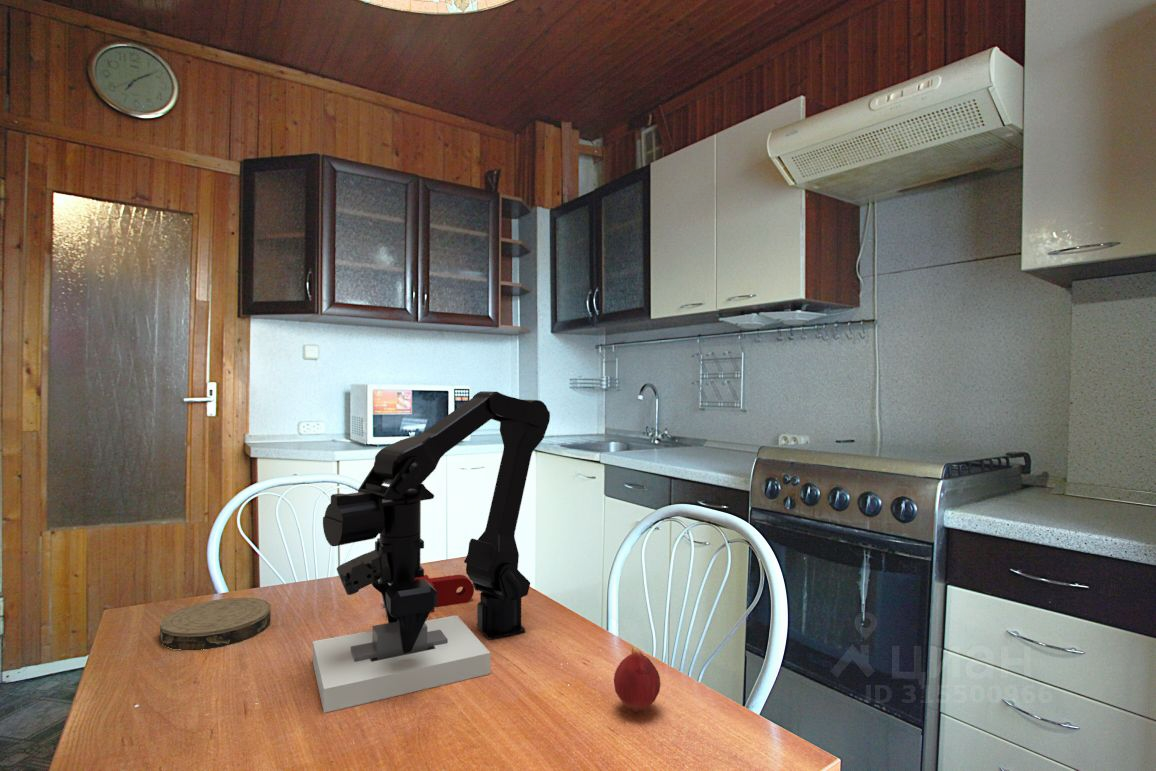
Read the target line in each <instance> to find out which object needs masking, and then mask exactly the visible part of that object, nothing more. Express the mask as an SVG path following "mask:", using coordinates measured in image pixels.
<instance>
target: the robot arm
mask: <svg viewBox="0 0 1156 771" xmlns="http://www.w3.org/2000/svg"><path fill="white" fill-rule="evenodd" d="M550 414H551V412H550V411H549V409H548V407H547V405H546V403H544V402H543V401H542V400H539V399H521V398H518V397H513V396H509V395H506V394H503V393H501V392H498V391H485V390H484V391H478V392H477V393H475V394H474V395H473V396H472V398H471V399H469V400H467V401H466V402H464V403H463V404H462V405H460V406H459V407H458V408H455V410H453V411H451V412H450V413H449V414H447V415H446V416H444V417H443V418H442V419H440V420H438V421H437V422H436V423H434V424H432V425H431V426H430V427H428V428H427V429H426V430H424V431H423V432H420V433H419V434H417V435H413V436H410V437H409V436H408V437H407V438H406V437H405V438H404V439H401V440H398V441H396V442H393V443H392V444H389V445H387V446H385V447H383V448H381V449H380V450H379V451H378V452H377V453H376V454H375V456H374V462H373V466H372V467H371V469H370V471H369V472H368V474H367V476H366V477H365V478H364V480H363V481H362V483H361V485H360V486H359V487H358V490H357V492H352V493H333V494H331V495H330V503H329V504H328V505H327V507H326V509H325V511H324V512H325V513H324V516H323V517H322V528H323V533H324V534H323V535H324V537H325V539H326V541H327V543H328V544H329V545H330V546H331V547H338V546H343V545H348V544H353V543H354V544H355V543H358V542H365V541H369V540H374V539H376V540H375V541H374V550H371V551H369V552H366V553H364V554H361V555H359V556H357V557H355V558H351V559H350V560H348V561H346V562H344V563H342V564H340V565H339V566H337V567H336V571H337V574H338V576H339V579H340V581H341V583H342V584H341V585H342V586H343V588H344V591H345V593H346V595H347V596H352V595H354V594H356V593H358V592H359V591H360V590H361V589H364V588H365V587H367V586H369V585H371V586H372V587H373V588H374V589H376V590H377V592H379V593H380V594H381V597H382V602H383V605H384V610H385V614H386V618H387V623H392V622H398V628H399V633H400V639H401V645H402V650H403V653H409V652H411V651H412V649H413V647H414V644H415V642H416V640H417V638H418V636H419V634H420V631H421V629H422V627H423V625H424V623H425V621H427V619H428V617H429V615H430V614H431V613H430V612H431V611H432V610H433V609H434V610H435V608H437V607H436V606H437V591H436V590H435V589H434V588H433V587H432V585H431V584H429V583H428V582H427V581H426V580H425V579H423V580H417V581H414V580H415V578H418V577H424V575H425V569H424V568H423V567H422V566H421V550H422V549H425V541H424V540H423V539H422V538H421V533H422V532H421V530H422V529H421V525H422V524H421V519H422V518H421V516H422V515H421V514H422V513H421V511H422V508H421V506H422V503H421V502H422V501H427V500H428V501H429V500H432V499H434V497H435V495H434V493H432V492H431V490H429V489H427V487H426V486H425V484H424V482H425V480H427V479H428V477H429V476H430V475H431V474H432V473H434V471H435V470H436V469H437V466H438V464H439V462H440V460H441V458H442V457H444V455H445V454H446V453H448V452H449V451H450V450H451V449H453V448H455V447H456V446H457V445H459V443H461V442H462V441H463V440H465V439H467V437H469V436H470V435H471V434H473V433H474V432H476V431H477V430H479V429H480V428H481V427H483V426H484V425H485V424H487V423H488V422H489V421H491V420H493V421H496V422H499V433H500V437H501V441H502V444H503V451H502V456H501V459H500V464H499V469H498V473H497V477H496V481H495V486H494V492H493V494H492V495H493V496H492V499H491V504H490V509H489V513H488V518H487V521H486V526H485V530H484V531H483V533H482V534H481V535H480V536H479V537H478V539H476V538H471V539H470V540H469V543H468V549H467V550H468V551H467V554H466V557H465V559H464V561H463V563H464V564H466V565H465V566H466V567H465V573H466V575H467V576H468V577H467V578H468V579H469V580H470V581H471V582H472V584H473V586H474V591H479V592H480V594H479V595H480V597H479V598H480V599H479V600H480V601H479V602H478V603H477V604H476V605H477V608H476V609H477V610H476V611H477V613H476V615H477V616H476V619H477V620H476V627H477V628H478V629H479V631H481V633H483V634H484V636H485V637H486V638H487V639H488V640H492V639H498V638H502V637H507V636H511V635H517V634H522V633H525V632H526V628H525V627H524V626H523V625H522V598H523V597H526V596H528V594H529V591H530V587H531V582H530V581H529V579H528V578H526V576H524V574H522V573H521V571H520V570H519V569H518V568H519V558H520V555H519V554H520V553H519V549H518V546H517V542H516V538H515V537H516V536H515V534H516V529H517V524H518V520H519V516H520V515H519V514H520V510H521V505H522V501H523V496H524V491H525V487H526V483H527V477H528V474H529V473H528V472H529V468H530V465H531V459H532V455H533V452H534V451H535V450H536V449H537V447H538V446H539V445H540V443H541V442H542V441H543V439H544V438H545V435H546V434H547V433H546V431H547V430H548V427H549V424H550V419H551V415H550ZM383 484H385V485H383ZM387 485H388V486H387ZM378 535H379V537H378ZM377 537H378V538H377Z"/></svg>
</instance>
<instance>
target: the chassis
mask: <svg viewBox="0 0 1156 771" xmlns="http://www.w3.org/2000/svg"><path fill="white" fill-rule="evenodd" d="M425 624H426V625H427V632H430V631H435V630H441V631H442V633H443V634H444V635H445V637H446V638H447V639H448V643H446V644H441V645H436V646H431V647H427V651H422V652H417V653H412V654H407V655H402V656H397V657H392V658H388V659H383V660H378V661H373V662H372V659H367V660H362V661H357V662H355V661H354V658H353V656H352V653H351V646H356V645H361V644H366V643H372V640H373V629H372V630H368V631H363V632H357V633H351V634H345V635H339V636H335V637H330V638H325V639H319V640H313V641H312V664H313V669H314V673H315V679H316V683H317V688H318V692H319V698H320V702H321V707H322V710H323V714H325V713H329V712H333V711H338V710H343V709H346V708H351V707H356V706H359V705H364V704H368V703H373V702H377V701H381V700H385V699H389V698H390V699H391V698H393V697H399V696H402V695H406V694H410V693H411V694H412V693H413V692H414V693H415V692H419V691H422V690H427V689H432V688H437V687H441V686H444V685H449V684H453V683H457V682H461V681H466V680H470V679H474V678H478V677H483V676H487V675H490V674H491V651H489V649H488V648H487V647H486V646H485V645H484V644H483V643H482V641H480V640H479V638H478V637H477V636H476V634H474V632H473V631H471V629H470V628H469V627H468V626H467V624H466V623H465V622H464V621H463V620H462V619H461V618H460V616H458V615H449V616H445V617H440V618H434V619H433V618H432V619H428V620H427V619H426V621H425Z"/></svg>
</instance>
